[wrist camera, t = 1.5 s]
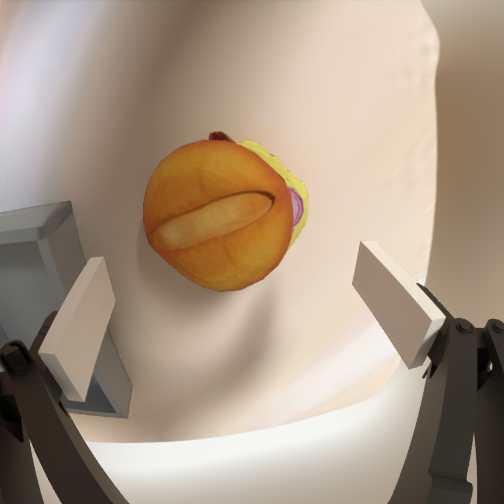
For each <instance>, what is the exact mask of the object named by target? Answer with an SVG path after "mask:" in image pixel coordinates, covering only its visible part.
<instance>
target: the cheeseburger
mask: <svg viewBox="0 0 504 504" xmlns="http://www.w3.org/2000/svg"><path fill="white" fill-rule="evenodd" d="M307 216H308V194H307V190H306V186H305V184H303V183H302V181H300V180H298V179H297V178H296V177H295V176H293V175H292V174H291V173H290V172H289V171H288V170H287V169H286V168H285V167H284V166H283V164H282V163H281V162H280V161H279V159H277V158H275V157H274V156H273V155H271V154H269V153H268V152H267V151H266V150H265V149H264V148H263V147H262V146H261V145H260V144H258V143H255V142H253V141H250V140H247V141H243V142H238V143H236V142H235V141H234V140H233V139H231V138H230V137H229V136H228V135H227V134H226V133H224V132H222V131H216V132H212V133H210V135H209V140H202V141H198V142H195V143H191V144H188V145H185V146H182V147H180V148H178V149H177V150H175V151H174V152H173V153H171V154H170V155H169V156H167V157H166V158H165V159H164V160H162V161H161V163H160V164H159V166H158V167H157V169H156V170H155V172H154V173H153V175H152V176H151V178H150V181H149V184H148V187H147V190H146V194H145V198H144V203H143V221H144V226H145V231H146V236H147V239H148V241H149V244H150V245H151V246H152V247H153V249H154V250H155V251H156V252H157V253H159V254H160V255H161V256H162V257H163V258H164V259H165V260H166V261H167V262H168V263H169V264H170V265H171V266H172V267H174V268H175V269H176V270H177V271H178V272H180V273H181V274H182V275H184V276H185V277H186V278H188V279H189V280H191V281H193V282H194V283H196V284H198V285H200V286H202V287H205V288H209V289H213V290H216V291H220V292H224V291H236V290H241V289H244V288H246V287H248V286H250V285H252V284H254V283H256V282H258V281H260V280H262V279H264V278H265V277H266V276H267V275H268V274H269V273H270V272H272V271H273V270H274V269H275V268H276V267H277V266H278V265H279V263H280V262H281V260H282V258H283V257H284V255H285V254H286V252H287V251H288V249H289V248H290V247H291V246H292V244H293V243H294V241H295V240H296V238H297V237H298V235H299V234H300V232H301V230H302V229H303V227H304V225H305V222H306V219H307Z"/></svg>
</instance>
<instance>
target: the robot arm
mask: <svg viewBox="0 0 504 504" xmlns="http://www.w3.org/2000/svg"><path fill="white" fill-rule="evenodd" d="M352 285H353V286H354V288H355V289H356V291H357V292H358V293H359V295H360V296H361V298H362V299H363V301H364V302H365V304H366V305H367V306H368V308H369V309H370V311H371V312H372V314H373V315H374V317H375V318H376V320H377V321H378V323H379V324H380V326H381V327H382V329H383V330H384V332H385V333H386V335H387V336H388V338H389V339H390V341H391V342H392V344H393V345H394V347H395V348H396V350H397V352H398V353H399V355H400V356H401V358H402V359H403V361H404V362H405V364H406V366H407V367H408V369H412V368H415V367H418V366H422V365H423V363H424V361H425V359H426V357H427V355H428V357H429V358H430V360H431V363H430V364H429V366H428V368H427V370H426V371H425V373H424V375H423V377H422V378H425V376H426V375H427V377H426V383H425V388H424V392H423V397H422V402H421V406H420V410H419V415H418V419H417V422H416V426H415V430H414V433H413V437H412V440H411V444H410V447H409V450H408V453H407V457H406V460H405V463H404V465H403V468H402V471H401V474H400V477H399V479H398V482H397V485H396V487H395V490H394V492H393V495H392V497H391V499H390V501H389V502H388V503H387V504H470V501H471V497H472V491H473V486H472V484H471V483H470V482H467V479H466V478H467V472H468V467H469V461H470V455H471V449H472V442H473V434H474V436H475V447H476V459H477V460H476V461H477V504H504V323H503V322H501V321H500V320H497V319H490V320H488V322H487V324H486V326H485V328H475V327H474V326H473V325H472V324H471V323H470V322H469V321H467V320H465V319H462V318H456V319H454V318H453V316H452V315H451V314H450V313H449V312H448V311H447V310H446V309H445V308H444V306H443V305H442V304H441V303H440V302H438V300H437V299H436V298H435V297H434V296H433V294H432V293H431V292H430V291H429V290H428V289H427V288H425V287H424V286H422V285H421V284H419V283H415V282H414V281H413V280H412V279H411V278H410V277H409V276H408V275H407V274H406V273H405V272H404V271H403V270H402V269H401V268H400V267H399V266H398V265H397V264H396V263H395V262H394V261H393V260H392V259H391V258H390V257H389V256H388V255H387V254H386V253H385V252H384V251H383V250H382V249H381V248H380V247H379V246H378V245H377V244H376V243H375V242H374V241H373V240H364V241H360V246H359V252H358V257H357V262H356V267H355V273H354V277H353V282H352ZM115 303H116V299H115V296H114V292H113V289H112V285H111V282H110V278H109V274H108V271H107V267H106V263H105V259H104V256H102V257H91V258H90V259H89V261H88V262H87V264H86V265H85V267H84V269H83V270H82V272H81V274H80V275H79V277H78V278H77V280H76V282H75V284H74V285H73V287H72V289H71V290H70V292H69V294H68V296H67V297H66V299H65V301H64V303H63V304H62V306H61V308H60V310H59V311H53V312H52V313H51V314H50V315H49V316H47V317H46V319H45V320H44V322H43V324H42V326H41V328H40V330H39V332H38V335H36V337H35V339H34V341H33V343H32V345H31V347H30V349H29V351H28V349H27V347H26V346H25V344H24V343H23V342H22V341H20V340H13V341H10V342H8V343H6V344H5V345H4V346H3V347H2V348H1V349H0V364H1V365H2V367H3V368H4V370H5V371H2V372H0V504H44V502H43V499H42V495H41V492H40V488H39V484H38V480H37V476H36V472H35V467H34V463H33V457H32V453H31V447H30V441H31V443H32V446H33V448H34V450H35V453H36V455H37V457H38V459H39V461H40V463H41V465H42V468H43V470H44V472H45V474H46V476H47V478H48V480H49V482H50V483H51V485H52V487H53V489H54V491H55V493H56V494H57V496H58V498H59V500H60V501H61V503H62V504H129V503H128V502H127V500H126V499H125V498H124V497H123V495H122V494H121V493H120V492H119V490H118V489H117V488H116V486H115V485H114V484H113V482H112V481H111V480H110V478H109V477H108V476H107V474H106V473H105V472H104V470H103V469H102V467H101V466H100V464H99V463H98V461H97V460H96V458H95V457H94V455H93V454H92V452H91V451H90V449H89V448H88V446H87V444H86V443H85V441H84V440H83V438H82V436H81V435H80V433H79V431H78V429H77V428H76V426H75V424H74V422H73V421H72V419H71V417H70V415H69V413H68V411H67V410H66V408H65V406H64V404H63V402H62V401H61V400H60V398H61V395H62V392H63V393H64V394H65V396H66V397H67V399H68V400H71V401H79V402H85V398H86V395H87V391H88V387H89V383H90V380H91V376H92V373H93V369H94V366H95V363H96V359H97V356H98V353H99V350H100V347H101V343H102V340H103V337H104V334H105V331H106V328H107V325H108V322H109V320H110V317H111V314H112V311H113V308H114V306H115ZM491 363H492V366H493V367H492V370H490V367H489V366H490V364H491ZM29 439H30V441H29Z"/></svg>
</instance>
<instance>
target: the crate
mask: <svg viewBox="0 0 504 504" xmlns="http://www.w3.org/2000/svg"><path fill="white" fill-rule="evenodd" d="M85 265H86V263H85V259H84V256H83V252H82V248H81V245H80V241H79V237H78V233H77V229H76V224H75V220H74V215H73V211H72V206H71V201H68V202H61V203H55V204H48V205H42V206H36V207H30V208H24V209H18V210H13V211H7V212H2V213H0V349H1V348H2V347H3V346H4V345H5V344H6V343H8V342H10V341H13V340H20V341H22V342H23V343H24V344H25V346H26V347H27V349H28V351H29V349H30V347H31V345H32V343H33V341H34V339H35V337H36V335H38V332H39V330H40V328H41V326H42V324H43V322H44V320H45V319H46V317H47V316H49V315H50V314H51V313H52V312H53V311H59V310H60V308H61V306H62V304H63V303H64V301H65V299H66V297H67V296H68V294H69V292H70V290H71V289H72V287H73V285H74V284H75V282H76V280H77V278H78V277H79V275H80V274H81V272H82V270H83V269H84V267H85ZM2 371H5V370H4V368H3V367H2V365H1V364H0V372H2ZM131 392H132V384H131V382H130V380H129V377H128V375H127V373H126V371H125V369H124V366H123V364H122V362H121V360H120V357H119V355H118V353H117V350H116V348H115V346H114V343H113V341H112V338H111V336H110V333H109V331H108V328H106V331H105V334H104V337H103V340H102V343H101V347H100V350H99V353H98V356H97V359H96V363H95V366H94V369H93V373H92V376H91V380H90V383H89V387H88V391H87V395H86V398H85V402H79V401H71V400H68V399H67V397H66V396H65V394H64V393H63V392H62V395H61V398H60V400H61V401H62V402H63V404H64V406H65V408H66V410H67V411H68V412H71V413H79V414H86V415H95V416H105V417H117V418H128V413H129V406H130V399H131Z"/></svg>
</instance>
